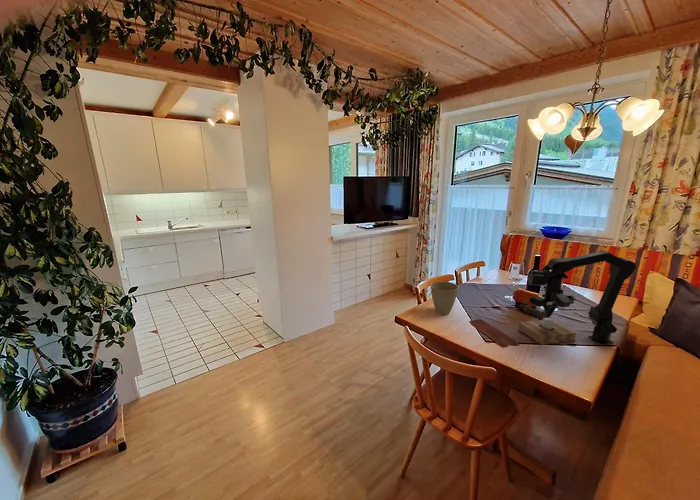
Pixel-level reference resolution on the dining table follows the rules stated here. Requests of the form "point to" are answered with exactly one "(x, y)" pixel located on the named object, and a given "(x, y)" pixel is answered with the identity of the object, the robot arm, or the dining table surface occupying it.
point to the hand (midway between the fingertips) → (548, 316)
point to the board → (547, 332)
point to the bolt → (533, 311)
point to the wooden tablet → (494, 333)
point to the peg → (547, 324)
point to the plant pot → (443, 296)
